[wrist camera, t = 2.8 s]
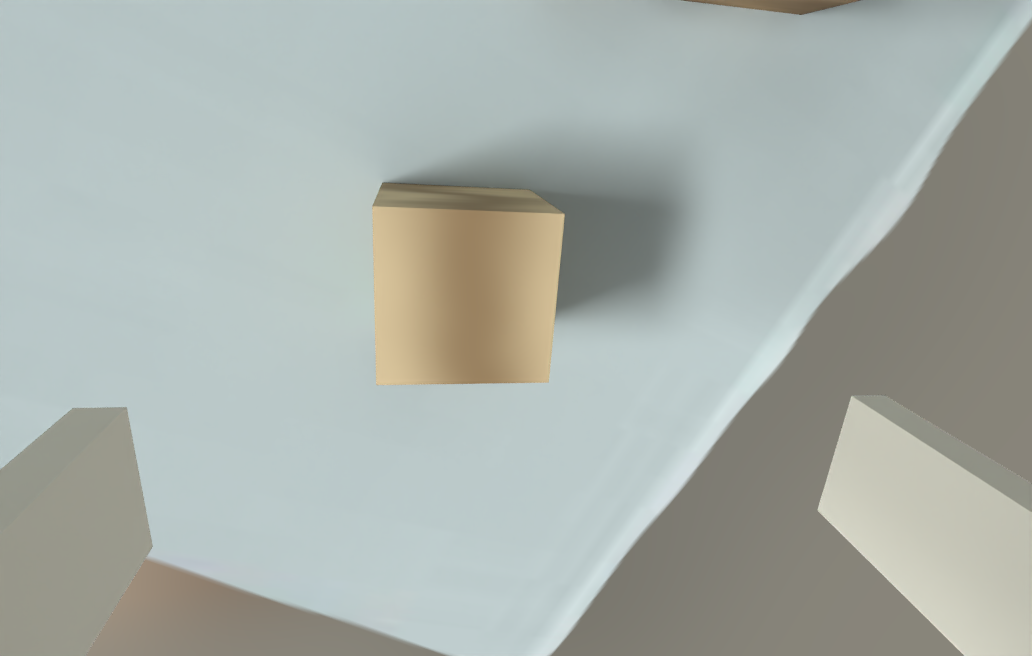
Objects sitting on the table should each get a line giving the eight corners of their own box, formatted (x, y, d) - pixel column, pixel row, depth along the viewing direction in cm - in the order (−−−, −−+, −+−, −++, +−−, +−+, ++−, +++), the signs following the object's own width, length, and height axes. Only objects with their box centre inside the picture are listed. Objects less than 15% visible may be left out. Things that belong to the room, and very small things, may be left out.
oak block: (384, 323, 25) (376, 385, 19) (382, 182, 23) (372, 206, 17) (519, 324, 26) (548, 382, 20) (529, 189, 24) (564, 214, 18)
